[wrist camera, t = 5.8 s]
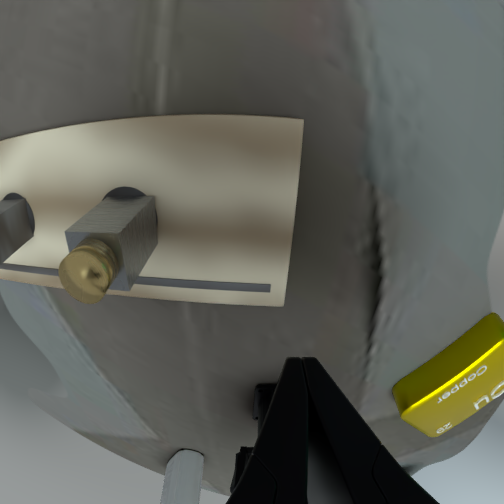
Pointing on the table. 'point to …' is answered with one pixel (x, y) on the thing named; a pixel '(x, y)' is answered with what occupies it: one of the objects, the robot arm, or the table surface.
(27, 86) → the table surface
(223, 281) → the bolt plate
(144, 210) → the sliding leg
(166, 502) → the photo printer
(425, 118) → the table surface
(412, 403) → the element tile
